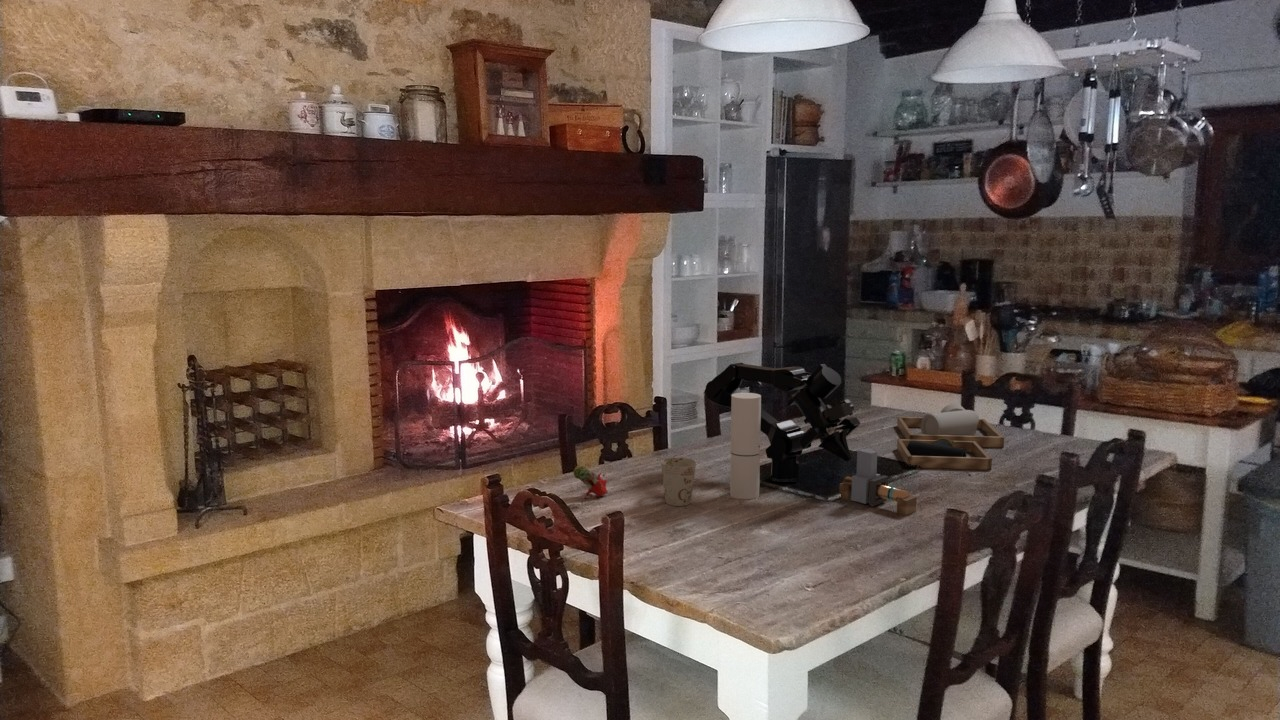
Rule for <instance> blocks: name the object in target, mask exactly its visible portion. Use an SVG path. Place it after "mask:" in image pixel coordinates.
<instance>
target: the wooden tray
mask: <svg viewBox="0 0 1280 720" xmlns="http://www.w3.org/2000/svg"><path fill="white" fill-rule="evenodd" d="M910 441H915V442H922V443H929V444H934V443H935V442H936V440H908V439H905V438H903V439H902V438H901V439H899V438H898V439H897V440H896V442H897V443H896V450H897V452H898V453H899V455H900V457H901V458H902V460H903V462H904V463H905V462H906V463H907V464H911V465H918V466H921V467H922V468H924V469H925V468H928V469H957V470H958V469H959V470H992V466H993V464H992V463H993V458H992V457H991V456H990V454H988V453H987V452H986V451H985V450H984V449H983V447H980V446H979V445H978V444H977V443H976V441H953V446H954V447H958V448H965V449H966V453H972V454H973V455H974V456H971V457H970V456H966V457H942V456H911V454H910V453H909V451H908V450H907V447H908V444H909V442H910ZM906 463H905V464H906Z"/></svg>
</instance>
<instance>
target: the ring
mask: <svg viewBox="0 0 1280 720" xmlns="http://www.w3.org/2000/svg"><path fill="white" fill-rule="evenodd" d="M877 484H880V485H884V486H889V475H884V474H883V475H881V476H880V477H878V478H875V479H872V480H870V488H869V503H868V506H872V507H874V506H877V505H880V504H881V503H884V502H887V501H888V499H884V498H880V497H877V498H876V485H877Z"/></svg>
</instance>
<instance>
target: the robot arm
mask: <svg viewBox="0 0 1280 720" xmlns="http://www.w3.org/2000/svg"><path fill="white" fill-rule="evenodd" d="M743 380H744V381H750V382H756V383H763V384H768V385H771V386H772V387H774V388H775V389H777V390H780V391H782V392H791V391H796V390H797V391H796V392H795V393H791V394H789V395H788V400H787V406H788V407H789V406H795V405H796V406H797V407H798V409H799V410H800V412H801V413H802V415H803V416H804V420H803V423H805V424H806V425H807V424H809V425H810V426H811V427H810V428H808V429H807V430H806V431H804V430H802V428H803V427H802V426H799V425H797V424H796V423H795V422H794V421H793V420H791V419H788V420H784V421H779V420H777V419H776V418H775V417H774V416H772V415H770V414H769V413H768V412H767V411H765V410H763V409H762V408H761V426H760V432H762V434H764V435H765V436H767V438H768V441H769V444H770V445H769V446H768V447H766V448H765V455H766V458H767V459H771V472H770V476H771V475H772V478H777V479H791V478H798V479H799V466H800V465H799V461H798V459H797V457H798V456H802V453H803V451H804V450H807V449H810V448H811V447H812V442H814V441H817V440H819V442H820V444H819V445H818V448H820V449H821V448H822V449H824V450H826V451H827V452H829V453H831V454H833V455H835V456H836V457H838V458H840V459H842V460H843V461H845V462H846V463H848V462H850V461H851V460H852V454H851V452H850V449H849V445H848V441H847V437H848V436H850V434H852V433H853V432H854V431H855V430H856V429H857V428H858V427H860V425H861V421H859V418H858V417H856V416H853V415H854V413H853V412H854V410H855V405H854V404H853V403H852V402H851V401H850V399H843V400H841V401H839V404H838V405H834V406H832V405H830V404H825V403H824V402H823V401H822V399H826V398H828V396H830V395H831V394H832V393H833V392H834V391H835V390H836V389H837V388H838V387H839V386H840V385H841V384H842V377H841V375H840V374H839V373H838V372H837V371H836V370H834V369H832V368H831V367H829V366H827V365H826V363H822V364H819V365H817V367H815V370H814V371H813V372H809V371H808V372H807V371H806V370H805V368H804V367H803V366H790V367H789V366H788V367H780V368H779V367H777V368H776V367H769V366H763V365H762V366H761V365H753V364H748V363H745V362H744V363H743V362H736V363H730V364H729V365H728V366H727V367H726V368H725V369H724V370H723V371H722V372H720V373H719V374H717V375H716V376H715V377H714V378H713V379H712V380H709V381H708V382H707V383H706V385H705V390H704V391H705V396H706V398H707V400H708V401H710V402H711V403H714V404H716V405H718V406H722V407H725V408H729V409H731V396H732V394H735V393H742V391H741V388H740V386H741V385H742V384H743ZM848 416H850V417H848ZM843 418H844V419H843Z"/></svg>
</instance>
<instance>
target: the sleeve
mask: <svg viewBox="0 0 1280 720" xmlns="http://www.w3.org/2000/svg"><path fill="white" fill-rule="evenodd" d="M877 465H878V451H877V450H871V449H866V448H860V449H857V451H856V474H854V475H852V476H851V477H852V494H851V499H850V500H851V501H854V502H857V503H860V504H865V505H867V504H869V494H868V489H869V483H870V480H872V479H875V478H878V477H881V476H882V475H881V474H880V473H877V472H878V471H877V469H878V466H877ZM876 498H877V497H876Z"/></svg>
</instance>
